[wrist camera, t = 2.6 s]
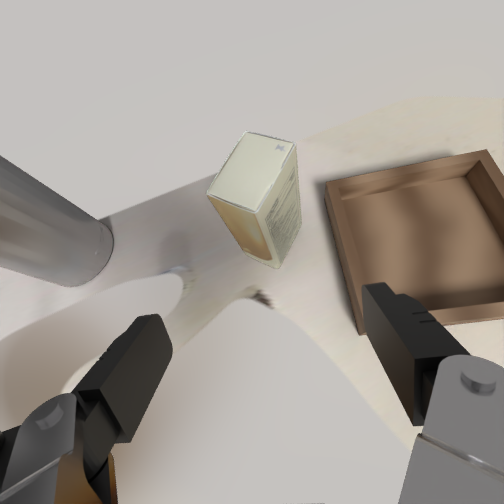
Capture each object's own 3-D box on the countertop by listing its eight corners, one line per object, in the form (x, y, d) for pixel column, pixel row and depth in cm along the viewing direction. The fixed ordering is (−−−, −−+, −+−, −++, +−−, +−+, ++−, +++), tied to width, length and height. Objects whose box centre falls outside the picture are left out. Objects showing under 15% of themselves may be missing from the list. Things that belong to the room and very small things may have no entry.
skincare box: (269, 211, 30) (246, 125, 19) (303, 223, 29) (299, 138, 18) (242, 257, 29) (201, 192, 17) (277, 273, 27) (255, 212, 16)
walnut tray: (359, 335, 23) (366, 332, 20) (324, 199, 29) (326, 182, 26) (548, 313, 21) (586, 306, 18) (467, 171, 27) (486, 149, 24)
